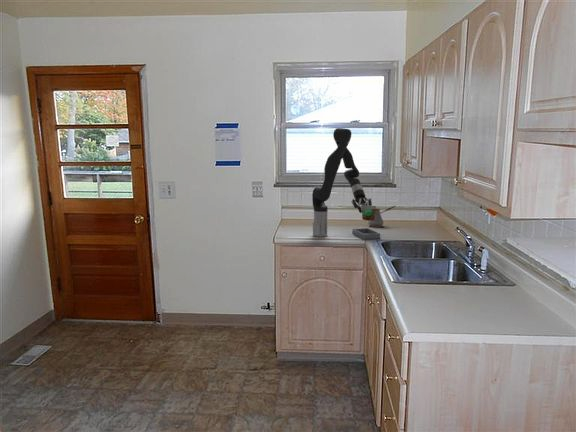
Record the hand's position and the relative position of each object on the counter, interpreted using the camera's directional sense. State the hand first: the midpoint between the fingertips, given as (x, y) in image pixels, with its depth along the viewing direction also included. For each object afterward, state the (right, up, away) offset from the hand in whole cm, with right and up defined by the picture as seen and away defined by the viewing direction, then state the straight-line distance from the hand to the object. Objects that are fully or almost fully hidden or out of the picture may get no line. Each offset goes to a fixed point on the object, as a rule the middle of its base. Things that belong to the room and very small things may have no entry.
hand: (365, 211), depth 292 cm
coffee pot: (+18, -10, +34) cm, 40 cm away
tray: (+1, -16, +1) cm, 16 cm away
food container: (0, -5, -1) cm, 5 cm away
